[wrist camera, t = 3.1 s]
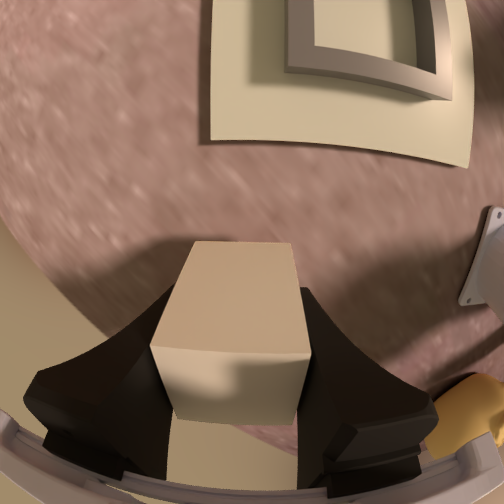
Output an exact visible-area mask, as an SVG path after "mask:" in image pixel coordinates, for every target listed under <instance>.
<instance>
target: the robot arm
mask: <svg viewBox="0 0 504 504" xmlns="http://www.w3.org/2000/svg"><path fill="white" fill-rule="evenodd" d="M175 284H176V283H175ZM175 284H174V285H172V286H171V287H170V288H169V289H168V290H167V291H166V292H165V293H164V294H163V295H162V296H161V297H160V298H159V299H158V300H157V301H155V302H154V303H153V304H152V305H151V306H150V307H149V308H148V309H147V310H146V311H145V312H143V313H142V314H141V315H140V316H139V317H137V318H136V319H135V320H134V321H133V322H131V323H130V324H129V325H128V326H126V327H125V328H124V329H123V330H121V331H120V332H118V333H117V334H115V335H114V336H113V337H111V338H110V339H108V340H106V341H105V342H103V343H101V344H100V345H98V346H96V347H94V348H93V349H91V350H89V351H87V352H85V353H84V354H81V355H79V356H77V357H75V358H73V359H71V360H68V361H66V362H63V363H61V364H58V365H56V366H52V367H49V368H46V369H44V370H40V371H38V372H37V374H36V375H35V377H34V379H33V380H32V382H31V384H30V386H29V387H28V389H27V391H26V393H25V395H24V397H23V401H24V404H25V405H26V407H27V408H28V410H29V411H30V412H31V413H32V414H33V415H34V416H35V417H36V418H37V419H38V420H39V421H40V422H41V423H42V424H43V425H44V426H45V427H46V428H47V429H48V432H47V435H46V437H45V439H43V438H41V437H39V436H37V435H35V434H34V433H32V432H30V431H28V430H26V429H25V428H23V427H21V426H20V425H19V424H18V423H17V422H16V421H15V420H14V419H13V418H12V417H11V416H10V415H8V414H7V413H6V412H5V411H3V410H1V409H0V472H1V473H2V474H3V475H5V476H6V477H7V478H8V479H10V480H11V481H12V482H13V483H15V484H16V485H17V486H18V487H20V488H21V489H23V490H24V491H25V492H27V493H28V494H29V495H31V496H32V497H34V498H35V499H37V500H38V501H40V502H41V503H43V504H146V503H143V502H141V501H139V500H137V499H135V498H134V497H132V496H131V495H130V494H127V493H124V492H122V491H119V490H117V489H114V488H112V487H109V486H107V485H110V486H113V487H116V488H118V489H122V490H125V491H128V492H132V493H135V494H139V495H143V496H146V497H150V498H154V499H159V500H163V501H168V502H173V503H178V504H472V503H474V502H476V501H477V500H479V499H480V498H482V497H484V496H485V495H487V494H488V493H490V492H491V491H492V490H494V489H496V488H497V487H498V486H500V485H501V484H502V483H504V467H503V464H502V461H501V458H500V455H499V452H498V449H497V446H496V444H495V441H494V439H493V436H492V433H491V432H490V431H488V432H486V433H485V434H483V435H481V436H479V437H477V438H474V439H472V440H471V441H469V442H467V443H466V444H464V445H463V446H461V447H460V448H459V449H458V450H457V451H456V452H455V453H452V454H450V455H448V456H445V457H443V458H440V459H437V460H435V461H432V462H429V463H427V464H424V465H421V466H420V463H419V459H418V456H417V455H419V454H420V453H421V449H420V445H419V443H420V442H421V441H422V440H423V439H424V438H426V437H427V436H428V435H429V434H430V433H431V432H432V431H433V430H434V428H435V427H436V426H437V424H438V421H439V417H438V414H437V411H436V408H435V406H434V403H433V401H432V399H431V397H430V395H429V394H428V393H426V392H424V391H422V390H420V389H418V388H416V387H414V386H412V385H410V384H408V383H406V382H404V381H402V380H401V379H399V378H397V377H396V376H394V375H393V374H391V373H389V372H388V371H386V370H385V369H383V368H382V367H381V366H379V365H378V364H377V363H375V362H374V361H373V360H371V359H370V358H369V357H368V356H366V355H365V354H364V353H363V352H362V351H361V350H359V349H358V348H357V347H356V346H355V345H354V344H353V343H352V342H351V341H350V340H349V339H348V338H347V337H346V336H345V335H344V334H343V333H342V332H341V331H340V329H339V328H338V327H337V326H336V325H335V324H334V322H333V321H332V320H331V319H330V317H329V316H328V315H327V314H326V313H325V311H324V310H323V309H322V307H321V306H320V304H319V303H318V302H317V300H316V299H315V297H314V296H313V295H312V293H311V292H310V290H309V289H308V288H307V287H300V293H301V298H302V303H303V309H304V314H305V320H306V325H307V331H308V337H309V342H310V348H311V357H310V361H309V365H308V369H307V373H306V377H305V381H304V384H303V388H302V392H301V396H300V399H299V403H298V406H297V424H298V474H297V475H298V476H297V490H282V491H249V490H230V489H217V488H207V487H199V486H192V485H186V484H180V483H174V482H169V481H166V474H167V457H168V444H169V435H170V427H171V420H172V413H173V407H172V404H171V402H170V399H169V397H168V394H167V392H166V389H165V387H164V384H163V381H162V379H161V376H160V373H159V371H158V368H157V365H156V362H155V359H154V356H153V354H152V351H151V348H150V343H151V341H152V338H153V336H154V334H155V331H156V329H157V326H158V324H159V321H160V319H161V317H162V314H163V312H164V310H165V307H166V305H167V303H168V300H169V298H170V296H171V293H172V291H173V289H174V287H175ZM458 303H459V304H460V305H461V306H467V305H475V304H483V303H487V304H488V306H489V307H490V308H491V309H492V310H493V312H494V313H495V314H496V315H497V317H498V318H499V319H500V321H501V322H502V323H503V324H504V208H503V207H498V206H492V207H491V208H490V209H489V212H488V215H487V219H486V223H485V227H484V230H483V234H482V237H481V240H480V243H479V247H478V250H477V253H476V256H475V258H474V261H473V264H472V267H471V270H470V272H469V275H468V277H467V280H466V282H465V285H464V287H463V290H462V292H461V294H460V297H459V299H458ZM106 484H107V485H106Z"/></svg>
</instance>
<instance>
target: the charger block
mask: <svg viewBox="0 0 504 504" xmlns="http://www.w3.org/2000/svg"><path fill="white" fill-rule="evenodd" d="M150 348H151V351H152V354H153V356H154V359H155V362H156V365H157V368H158V371H159V373H160V376H161V379H162V381H163V384H164V387H165V389H166V392H167V394H168V397H169V399H170V402H171V404H172V407H173V409H174V411H175V414H176V416H177V418H178V419H183V420H192V421H199V422H209V423H221V424H236V425H292V423H293V420H294V417H295V413H296V410H297V406H298V403H299V399H300V396H301V392H302V388H303V384H304V381H305V377H306V373H307V369H308V365H309V361H310V357H311V348H310V342H309V337H308V331H307V325H306V320H305V314H304V309H303V303H302V298H301V293H300V287H299V282H298V277H297V272H296V267H295V262H294V257H293V252H292V248H291V243H265V242H222V241H195V243H194V245H193V247H192V249H191V251H190V253H189V256H188V258H187V260H186V262H185V264H184V266H183V269H182V271H181V273H180V275H179V278H178V280H177V282H176V284H175V287H174V289H173V291H172V293H171V296H170V298H169V300H168V303H167V305H166V307H165V310H164V312H163V314H162V317H161V319H160V321H159V324H158V326H157V329H156V331H155V334H154V336H153V338H152V341H151V343H150Z"/></svg>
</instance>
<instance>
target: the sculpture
mask: <svg viewBox="0 0 504 504" xmlns="http://www.w3.org/2000/svg"><path fill="white" fill-rule="evenodd" d="M434 406H435V408H436V411H437V414H438V417H439V421H438V424H437V426H436V427H435V428H434V430H433V431H432V432H431V433H430V434H429V435H428V436H427V437H426V438H424V439H425V444H426V446H427V449H428V451H429V452H430V454H431V455H432V457H433V458H435V460H437V459H440V458H443V457H445V456H448V455H450V454H452V453H455V452H456V451H457V450H458V449H459V448H460V447H461V446H463V445H464V444H466V443H467V442H469V441H471V440H472V439H474V438H477V437H479V436H481V435H483V434H485V433H486V432H488V431H490V432H491V433H492V436H493V439H494V441H495V444H496V446H497V448H498V447H499V446H501V445H502V444H503V442H504V382H500V381H499V380H497V379H496V378H494V377H492V376H490V375H487V374H481V373H478V374H473V375H471V376H469V377H468V378H466V379H464V380H463V381H461V382H460V383H458V384H457V385H456V386H454V387H453V388H451V389H450V390H449V391H447V392H446V393H444V394H443V395H442V396H441V397H439V398H438V399H437V400H436V401H435V402H434Z"/></svg>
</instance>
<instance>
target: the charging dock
mask: <svg viewBox="0 0 504 504" xmlns="http://www.w3.org/2000/svg"><path fill="white" fill-rule="evenodd" d="M473 116H474V63H473V50H472V40H471V31H470V24H469V18H468V12H467V7H466V2H465V0H213V11H212V37H211V140H276V141H296V142H311V143H323V144H334V145H343V146H352V147H360V148H367V149H374V150H381V151H387V152H393V153H399V154H405V155H410V156H415V157H420V158H425V159H430V160H435V161H439V162H443V163H447V164H452V165H456V166H460V167H463V168H467V169H468V165H469V158H470V150H471V141H472V131H473Z"/></svg>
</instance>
